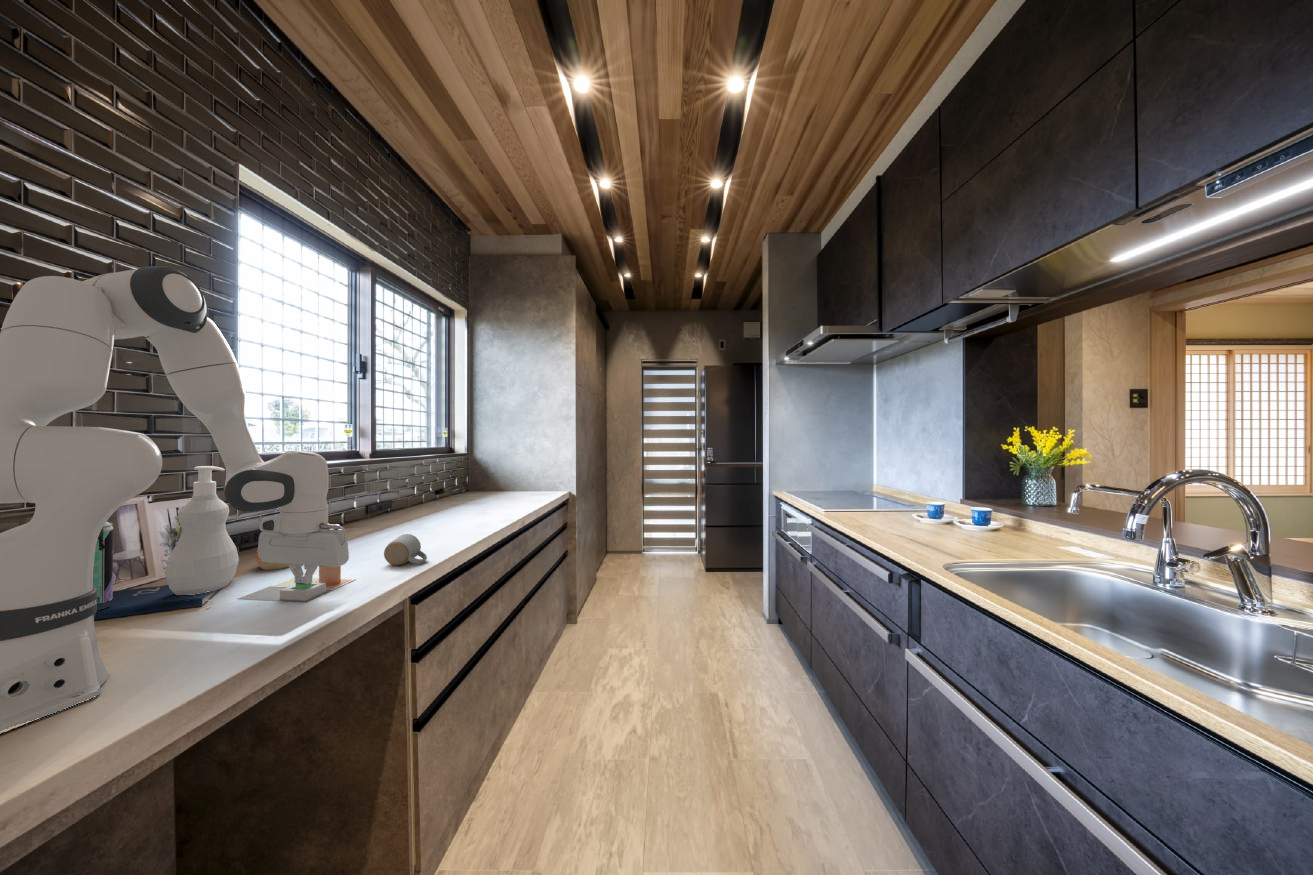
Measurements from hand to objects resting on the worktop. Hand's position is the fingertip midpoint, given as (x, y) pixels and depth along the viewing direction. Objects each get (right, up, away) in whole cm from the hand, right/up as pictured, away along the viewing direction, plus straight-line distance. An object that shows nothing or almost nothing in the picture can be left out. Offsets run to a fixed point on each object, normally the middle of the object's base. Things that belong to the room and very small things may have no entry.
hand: (303, 583), depth 109 cm
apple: (-23, -3, +21) cm, 31 cm away
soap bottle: (-26, -3, +3) cm, 26 cm away
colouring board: (-4, -4, +4) cm, 7 cm away
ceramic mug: (+7, -4, +32) cm, 33 cm away
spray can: (-39, -3, -8) cm, 39 cm away
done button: (0, -2, 0) cm, 2 cm away
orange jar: (0, -2, +8) cm, 9 cm away
